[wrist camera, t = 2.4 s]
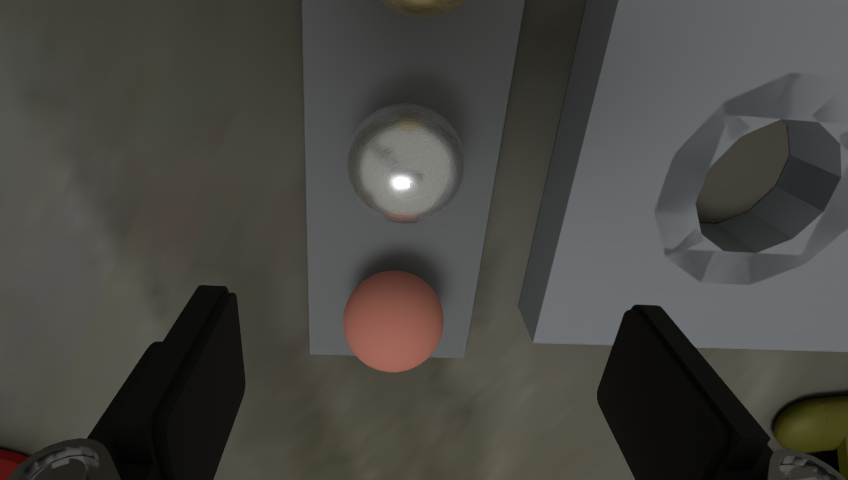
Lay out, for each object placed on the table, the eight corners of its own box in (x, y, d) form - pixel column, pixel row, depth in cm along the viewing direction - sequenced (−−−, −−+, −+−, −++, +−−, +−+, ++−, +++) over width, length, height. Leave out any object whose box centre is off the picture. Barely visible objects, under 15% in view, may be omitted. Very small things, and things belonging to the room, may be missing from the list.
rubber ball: (347, 250, 28) (339, 307, 23) (443, 254, 28) (455, 311, 23) (346, 327, 30) (338, 393, 25) (433, 329, 31) (442, 395, 26)
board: (600, -63, 22) (636, -70, 18) (995, -17, 24) (1087, -16, 20) (518, 306, 31) (533, 342, 28) (806, 316, 33) (850, 352, 30)
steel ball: (351, 87, 23) (341, 115, 19) (463, 96, 24) (482, 126, 19) (349, 193, 26) (340, 242, 21) (450, 198, 27) (464, 248, 22)
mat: (297, -226, 18) (296, -230, 18) (554, -189, 19) (557, -193, 19) (310, 350, 31) (310, 354, 31) (463, 353, 32) (464, 358, 32)
